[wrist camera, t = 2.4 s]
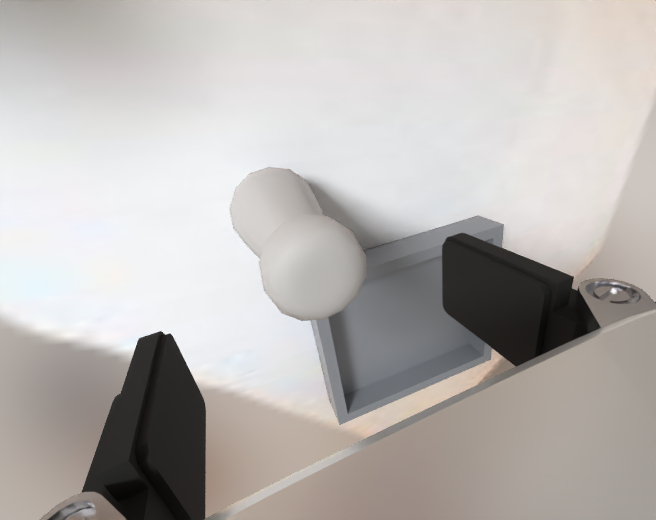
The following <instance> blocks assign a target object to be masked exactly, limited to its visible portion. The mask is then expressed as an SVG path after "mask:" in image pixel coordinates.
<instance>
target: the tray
mask: <svg viewBox="0 0 656 520" xmlns="http://www.w3.org/2000/svg"><path fill="white" fill-rule="evenodd" d="M503 228H504V224H501V223H498V222H495V221H492V220H489V219H486V218H484V217H481V216H476V217H473V218H469V219H466V220H463V221H459V222H456V223H453V224H450V225H446V226H443V227H440V228H436V229H433V230H430V231H427V232H423V233H420V234H417V235H414V236H410V237H407V238H404V239H400V240H397V241H394V242H391V243H387V244H384V245H381V246H378V247H374V248H371V249H368V250H364V253H365V254H366V277H365V280H364V282H363V284H362V287H361V289H360V292H359V294H358V296H357V297H356V298H355V299H354V300H353V301H352V302H351V303H350V304H348V305H347V306H346V307H345V308H344V309H343V310H342V311H340V312H338V313H336V314H334V315H332V316H330V317H327V318H325V319H323V320H311V323H312V328H313V332H314V336H315V340H316V345H317V349H318V353H319V357H320V362H321V366H322V370H323V374H324V379H325V383H326V387H327V392H328V396H329V400H330V403H331V405H332V408H333V410H334V412H335V415H336V417H337V419H338V422H339V424H340V425H341V424H343V423H345V422H347V421H350V420H352V419H354V418H357V417H359V416H361V415H364V414H366V413H368V412H371V411H373V410H375V409H377V408H380V407H382V406H384V405H387V404H389V403H391V402H394V401H396V400H398V399H401V398H403V397H405V396H407V395H410V394H412V393H414V392H417V391H419V390H421V389H424V388H426V387H428V386H431V385H433V384H435V383H437V382H440V381H442V380H444V379H447V378H449V377H451V376H454V375H456V374H458V373H461V372H463V371H465V370H467V369H470V368H472V367H474V366H477V365H479V364H481V363H484V362H486V361H488V360H491V350H492V348H491V347H490V346H489V345H488V344H486V343H485V342H484V341H482V340H481V339H480V338H478V337H477V336H476V335H474V334H473V333H472V332H471V331H469V330H468V329H467V328H465V327H464V326H463V325H461V324H460V323H459V322H458V321H456V320H455V319H454V318H452V317H451V316H450V315H448V314H447V313H446V312H445V310H444V308H443V304H442V245H443V243H444V242H445V240H446V238H447V237H450V236H453V235H456V234H459V233H466V234H468V235H471V236H473V237H476V238H478V239H481V240H483V241H486V242H488V243H491V244H493V245H496V246H498V247H501V248H502V238H503Z"/></svg>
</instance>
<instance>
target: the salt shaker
mask: <svg viewBox="0 0 656 520" xmlns="http://www.w3.org/2000/svg"><path fill="white" fill-rule="evenodd" d="M230 214H231V219H232V224H233V228H234V230H235V231H236V232H237V234H238V235H239V236H240V237H241V239H242V240H243V241H244V243H245V244H246V245H247V246H248V247H249V248H250V249H251V250H252V251H253V252H254V253H255V254H256V256H257V257H258V258H259V259H260V260H259V266H260V272H261V277H262V282H263V287H264V291H265V292H266V294H267V295H268V296H269V297H270V299H271V300H272V301H273V302H274V304H275V305H276V306H277V307H278V309H279V310H280V311H281V312H282V313H283V314H285V315H288V316H291V317H293V318H296V319H299V320H301V321H305V320H323V319H325V318H327V317H330V316H332V315H334V314H336V313H338V312H340V311H342V310H343V309H344V308H345V307H346V306H347V305H348V304H350V303H351V302H352V301H353V300H354V299H355V298H356V297H357V296H358V294H359V292H360V289H361V287H362V284H363V282H364V280H365V277H366V254H365V253H364V251H363V249H362V247H361V246H360V244H359V242H358V240H357V239H356V237H355V235H354V234H353V232H352V231H351V230H349V229H348V228H346V227H345V226H343V225H342V224H340V223H339V222H337V221H335V220H334V219H332V218H330V217H329V216H324V214H323V212H322V209H321V207H320V205H319V203H318V201H317V198H316V196H315V195H314V193H313V191H312V190H311V188H310V186H309V185H308V183H307V182H306V180H304V179H303V178H301V177H300V176H299V175H297V174H296V173H294V172H293V171H291V170H290V169H282V168H272V167H267V168H265V169H262V170H259V171H256V172H253V173H250V174H249V175H248V176H247V177H246V178H245V179H244V180H243V181H242V182H241V183H240V184H239V185H238V186H237V187H236V189H235V192H234V195H233V198H232V202H231V205H230Z"/></svg>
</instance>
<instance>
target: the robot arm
mask: <svg viewBox="0 0 656 520" xmlns="http://www.w3.org/2000/svg"><path fill="white" fill-rule="evenodd" d="M573 279H574V277H573V276H570V275H568V274H565V273H563V272H560V271H558V270H555V269H553V268H550V267H548V266H545V265H543V264H540V263H538V262H535V261H533V260H530V259H528V258H525V257H523V256H520V255H518V254H516V253H513V252H511V251H508V250H506V249H503V248H501V247H498V246H496V245H493V244H491V243H488V242H486V241H483V240H481V239H478V238H476V237H473V236H471V235H468V234H466V233H459V234H456V235H453V236H450V237H447V238H446V240H445V242H444V243H443V245H442V304H443V308H444V310H445V312H446V313H447V314H448V315H450V316H451V317H452V318H454V319H455V320H456V321H458V322H459V323H460V324H461V325H463V326H464V327H465V328H467V329H468V330H469V331H471V332H472V333H473V334H474V335H476V336H477V337H478V338H480V339H481V340H482V341H484V342H485V343H486V344H488V345H489V346H490V347H491V348H493V349H494V350H495V351H497V352H498V353H499V354H501V355H502V356H503V357H504V358H506V359H507V360H508V361H510V362H511V363H512V364H514V365H515V366H516V367H515V368H512V369H510V370H508V371H506V372H504V373H502V374H500V375H498V376H495V377H493V378H491V379H489V380H487V381H485V382H483V383H481V384H479V385H476V386H474V387H472V388H470V389H468V390H466V391H464V392H462V393H460V394H457V395H455V396H453V397H451V398H449V399H447V400H445V401H443V402H441V403H439V404H436V405H434V406H432V407H430V408H428V409H426V410H424V411H422V412H420V413H418V414H416V415H413V416H411V417H409V418H407V419H405V420H403V421H401V422H399V423H397V424H395V425H393V426H390V427H388V428H386V429H384V430H382V431H380V432H378V433H376V434H374V435H372V436H370V437H368V438H366V439H364V440H362V441H359V442H357V443H355V444H354V445H351V446H349V447H347V448H345V449H343V450H341V451H339V452H337V453H335V454H333V455H331V456H328V457H327V458H324V459H322V460H320V461H318V462H316V463H314V464H312V465H310V466H308V467H306V468H304V469H302V470H300V471H297V472H296V473H293V474H292V475H290V476H288V477H286V478H284V479H282V480H280V481H278V482H276V483H274V484H272V485H270V486H268V487H266V488H264V489H262V490H260V491H258V492H256V493H254V494H252V495H250V496H248V497H246V498H244V499H242V500H240V501H238V502H236V503H234V504H232V505H230V506H228V507H226V508H224V509H222V510H220V511H219V512H217V513H215V514H213V515H211V516H210V517H208V518H206V519H205V442H206V439H205V437H206V431H205V430H206V410H205V403H204V399H203V397H202V395H201V393H200V391H199V389H198V386H197V384H196V382H195V380H194V378H193V376H192V374H191V372H190V370H189V368H188V366H187V364H186V362H185V360H184V358H183V356H182V354H181V352H180V350H179V348H178V346H177V344H176V342H175V340H174V338H173V336H172V335H171V334H167V335H165V334H164V333H163V332H161V331H160V332H157V333H154V334H151V335H148V336H145V337H142V338H139V340H138V342H137V345H136V348H135V351H134V355H133V358H132V361H131V364H130V367H129V370H128V373H127V376H126V379H125V382H124V385H123V388H122V391H121V394H119V395H117V396H116V397H115V399H114V401H113V403H112V406H111V409H110V412H109V415H108V417H107V420H106V423H105V426H104V429H103V432H102V435H101V438H100V441H99V444H98V446H97V449H96V452H95V455H94V458H93V461H92V464H91V467H90V470H89V473H88V475H87V478H86V481H85V484H84V487H83V490H82V493H80V494H77V495H75V496H72V497H70V498H68V499H66V500H65V501H63V502H61V503H59V504H58V505H56V506H55V507H54V508H53V509H51V510H50V511H49V512H48V513H47V514H45V515H44V516H43V517H42V518H41V519H40V520H656V302H654V301H653V300H652V299H651V298H650V296H649V295H648V294H647V293H646V292H644V291H643V290H642V289H640V288H638V287H636V286H634V285H632V284H629V283H626V282H623V281H618V280H614V279H604V278H598V279H589V280H585V281H583V282H581V283H580V285H579V286H578V291H577V290H574V289H572V283H573Z"/></svg>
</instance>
